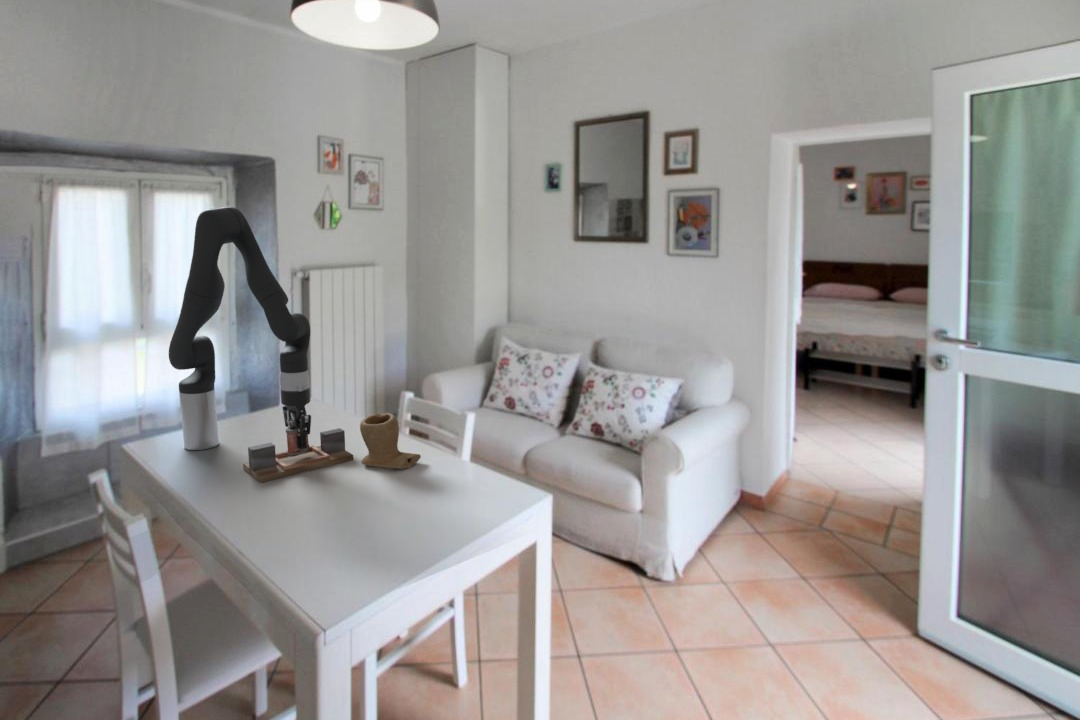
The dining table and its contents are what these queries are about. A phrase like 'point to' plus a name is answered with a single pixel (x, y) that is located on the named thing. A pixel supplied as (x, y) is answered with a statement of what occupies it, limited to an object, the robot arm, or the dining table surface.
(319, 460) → the rail
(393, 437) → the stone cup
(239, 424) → the dining table surface
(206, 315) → the robot arm
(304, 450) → the lighter
